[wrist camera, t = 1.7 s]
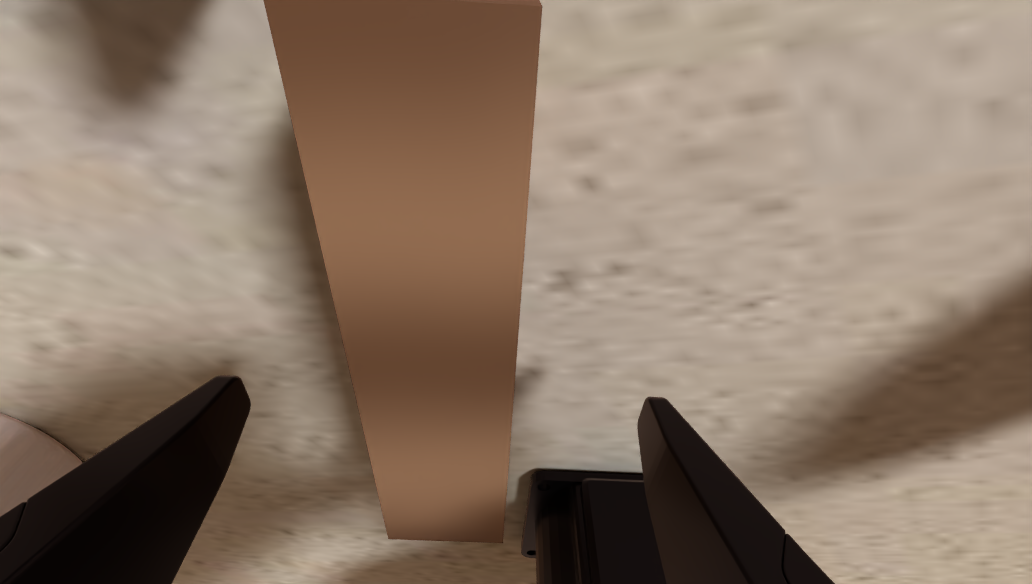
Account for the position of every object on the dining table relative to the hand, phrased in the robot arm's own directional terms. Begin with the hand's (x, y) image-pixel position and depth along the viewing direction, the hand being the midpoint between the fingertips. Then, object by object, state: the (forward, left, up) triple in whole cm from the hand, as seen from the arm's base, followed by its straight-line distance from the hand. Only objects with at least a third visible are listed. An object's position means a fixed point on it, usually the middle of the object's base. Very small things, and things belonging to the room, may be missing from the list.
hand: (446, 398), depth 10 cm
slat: (+2, 0, -4) cm, 4 cm away
